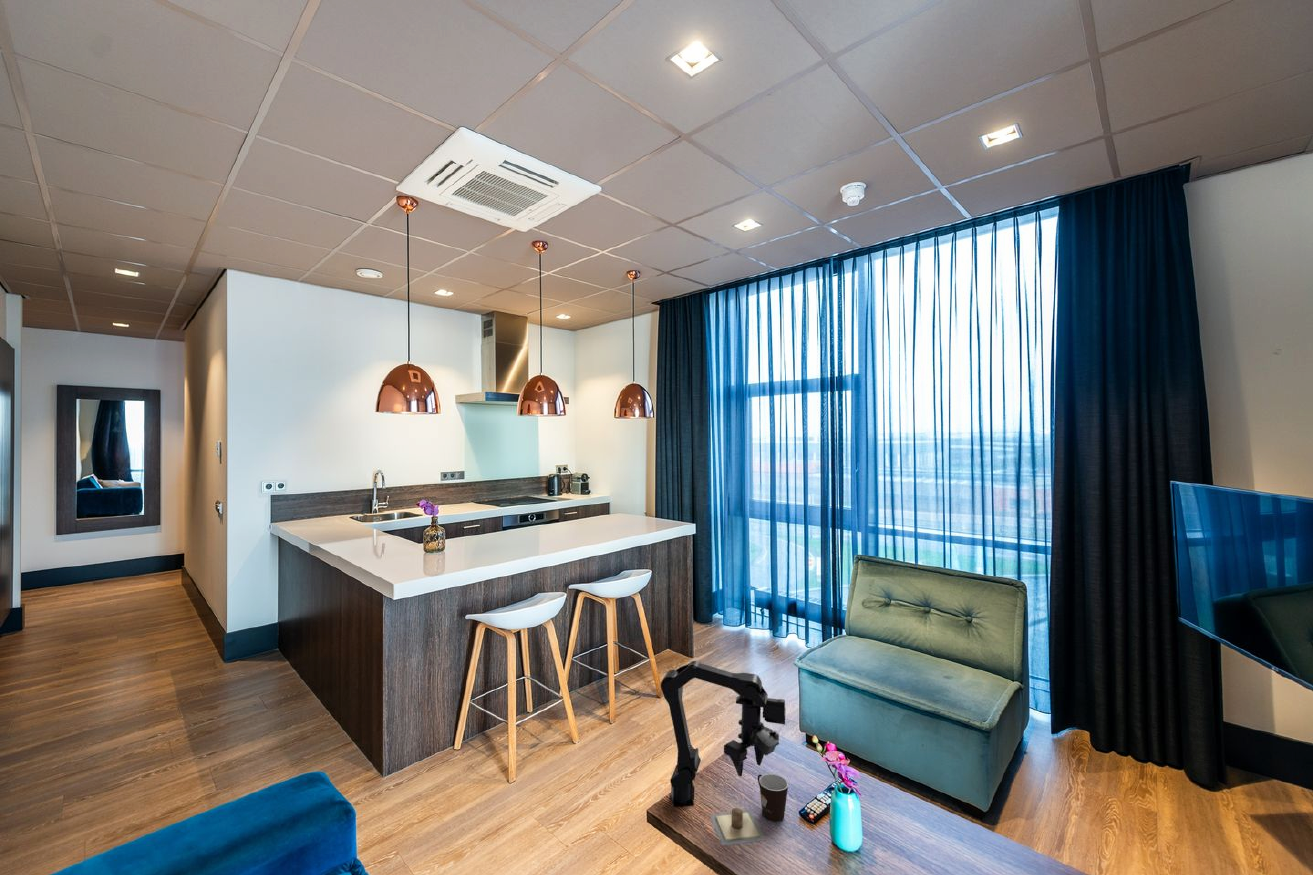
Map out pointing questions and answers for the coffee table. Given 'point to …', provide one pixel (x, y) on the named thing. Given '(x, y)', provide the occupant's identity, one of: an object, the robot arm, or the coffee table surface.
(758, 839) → the mat
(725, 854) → the coffee table surface
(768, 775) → the coffee mug
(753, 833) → the lid
